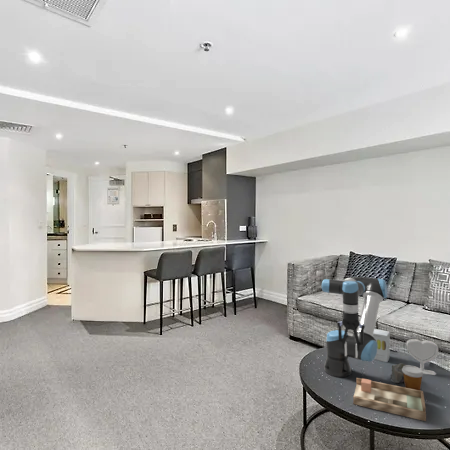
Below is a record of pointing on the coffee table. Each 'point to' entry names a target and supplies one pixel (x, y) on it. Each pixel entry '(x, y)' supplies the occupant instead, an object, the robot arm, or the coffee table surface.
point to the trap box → (392, 399)
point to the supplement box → (382, 345)
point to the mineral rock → (397, 373)
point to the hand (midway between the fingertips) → (351, 355)
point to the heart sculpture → (422, 352)
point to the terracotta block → (366, 385)
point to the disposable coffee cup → (412, 377)
